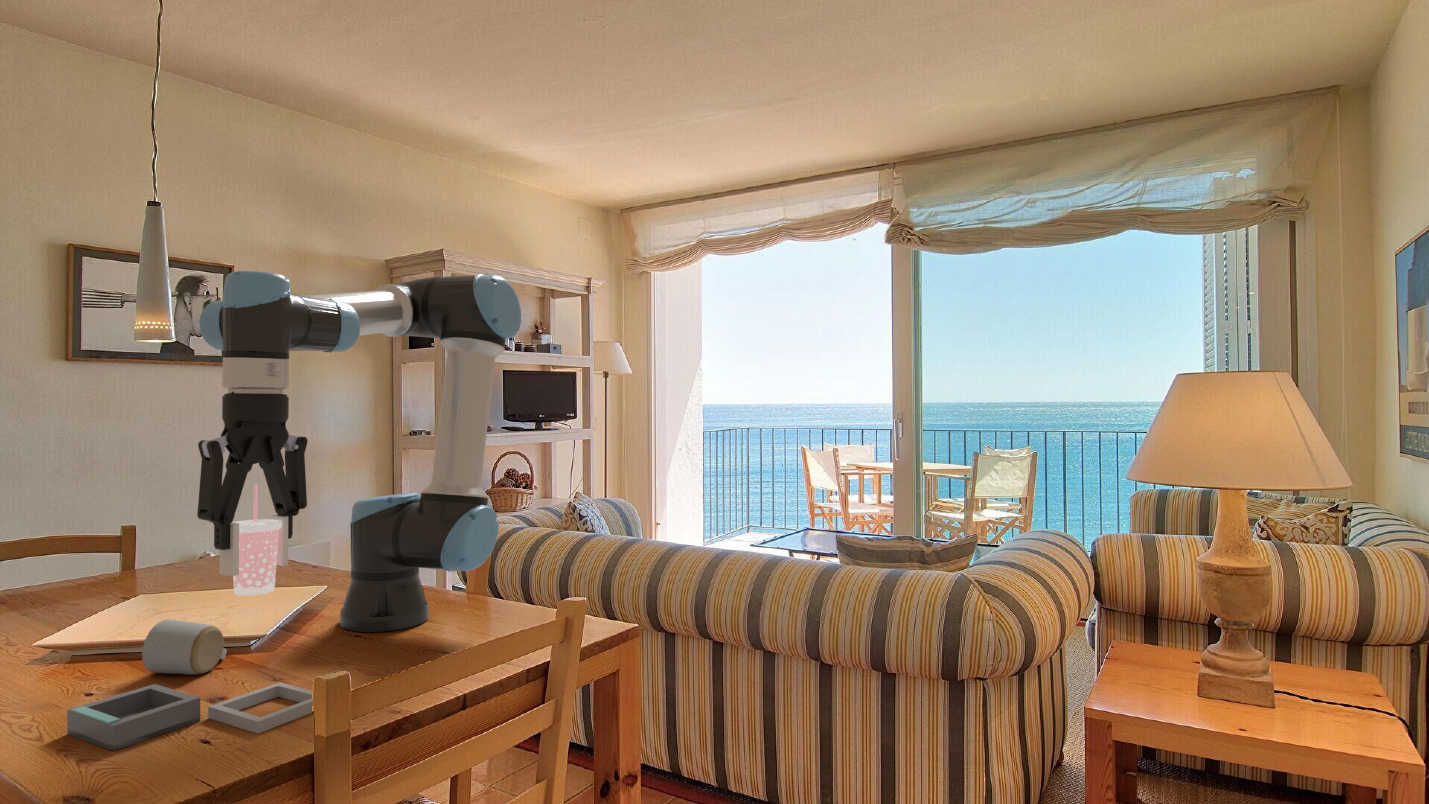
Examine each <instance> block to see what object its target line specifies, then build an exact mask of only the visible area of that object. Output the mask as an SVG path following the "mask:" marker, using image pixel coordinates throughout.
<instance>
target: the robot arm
mask: <svg viewBox="0 0 1429 804" xmlns="http://www.w3.org/2000/svg"><path fill="white" fill-rule="evenodd" d="M222 295H223V296H222V300H215V301H212V302H210V303H209V304H207V305H206V306H204V308H203V310H202V312H201V314H200V316H199V320H198V321H199V322H198V323H199V330H200V335H201V337H202V338H203V340H204V341H205V343H207V345H209V347H210V346H211V347H212V348H213V349H216V350H220V351H222V373H221V374H222V375H221V376H222V377H221V379H222V383H221V387H222V388H223V389H226V390H227V393H224V394H223V396H222V397H221V399H222V400H221V403H222V405H221V406H222V407H221V409H222V410H221V412H222V413H221V414H222V415H221V418H222V421H223V425H224V427H223V430H222V432H221V434H220V436H218V437H216V438H213V439H209V440H207V439H202V440H199V442H198V444H197V447H198V451H199V455H200V457H201V467H200V475H199V476H200V477H199V489H198V492H199V493H198V502H197V518H198V519H199V520H203V521H207V522H209V523H212V524H213V529H214V530H213V547H214V548H215V550H219V567H218V568H219V573H218V574H220V575H224V576H230V577H233V576H236V575H239V523H232V522H234V519H235V516H236V512H237V508H238V505H239V502H240V500H241V495H242V492H243V489H244V487H245V486H244V485H245V482H246V479H247V476H248V473H249V472H251V471H252V468H253V465H256V464H258V466H259V467H260V469H262V471H263V475H264V477H265V481H266V484H267V485H266V486H267V488H268V491H269V495H270V497H271V498H270V499H271V501H272V504H273V508H274V511H275V513H276V514H274V515H272V514H271V515H269V519H274V520H281V521H282V524H281V527H282V528H280V529H279V541H278V553H277V566H280V567H286V566H289V539H292V537H293V534H294V533H293V530H294V529H293V525H294V521H293V519H294V517H296V516H298V515H299V513H300V510H304V509H306V508H307V506H308V498H307V497H308V494H307V493H308V492H307V477H306V458H305V454H306V448H307V446H308V438H307V437H306V436H297V435H292V434H290V433H289V431H288V429H287V426H286V423H287V421H288V420H289V416H290V415H289V413H290V412H289V406H290V405H289V403H290V401H289V399H290V397H289V396H288V394H286V393H285V394H284V390H287V389H288V388H289V387H290V386H289V383H290V382H289V381H290V380H289V377H290V374H289V373H290V371H289V368H290V367H289V366H290V364H289V363H290V352H293V351H295V352H298V351H299V352H301V351H302V352H303V351H306V352H309V351H312V352H313V351H315V352H316V351H317V352H324V353H335V352H338V353H339V352H346V351H347V350H349V349H351V348H352V347H353V346H354V345H355V343H356V342H357V341H358V338H359V337H360V336H361V337H362V336H368V335H370V336H371V335H375V334H382V335H384V336H386V337H388V338H389V337H390V338H391V337H393V338H395V337H419V338H421V337H422V338H431V339H432V338H433V339H439V344H440V345H441V347H442V348H443V349H444V351H445V352H446V359H445V367H444V377H443V383H442V384H443V385H442V392H441V393H442V394H441V399H440V407H439V408H440V410H439V417H438V423H437V424H438V425H437V434H436V441H435V442H436V443H435V449H434V456H433V466H432V474H431V480H430V481H431V482H430V484H428V486H426V487H425V488H423V489H422V490H421V491H420V494H419V493H418V492H407V493H398V494H390V495H389V494H388V495H380V496H374V497H368V498H367V497H366V498H362V499H358V500H357V501H356V502H355V503H354V504H353V505H352V509H351V519H350V520H351V521H350V523H349V525H350V584H349V586H348V588H347V591H346V595H345V599H344V601H343V606H342V607H341V609H340V613H339V626H340V627H341V628H342V629H345V630H348V631H353V632H358V633H359V632H360V633H361V632H362V633H379V632H391V631H396V630H397V631H398V630H403V629H407V628H412V627H415V626H417V625H420V624H423V623H424V622H426V621H427V620H428V619H429V616H430V615H429V612H430V611H429V607H430V606H429V602H428V601H427V600H426V595H425V592H424V588H423V585H422V582H421V579H420V568H421V569H430V570H441V571H446V572H470V571H475V569H476V570H477V569H478V568H480V567H481V566H482V565H483V564H484V563H485V562H486V561H487V559H488V558H489V557H490V556H491V554H492V553H493V550H494V548H495V546H496V543H497V540H498V534H499V520H498V519H497V518H498V516H497V512H495V510H494V509H493V508H492V507H490V506H488V503H489V495H488V494H487V493H486V492H485V491H484V489H483V488H482V477H483V471H484V470H483V469H484V461H485V450H486V444H487V443H486V442H487V435H488V434H487V432H488V425H489V424H488V423H489V416H490V408H491V399H492V392H493V391H492V389H493V381H494V372H495V364H496V363H495V362H496V358H497V357H499V356H500V355H502V354H503V353H504V352H505V348H506V340H509V339H511V338H513V337H515V336H516V335H517V333H518V332H519V330H520V328H521V323H522V310H521V303H520V301H519V298H518V296H517V293H516V291H515V289H514V288H513V286H512V285H511V283H510V282H509V281H508V280H507V279H506V278H504V277H503V276H500V275H487V274H483V273H480V274H476V275H454V276H453V275H452V276H451V275H450V276H429V277H423V278H418V279H414V280H409V281H404V282H397V283H387V284H382V285H379V286H378V287H376V288H375V289H374V290H367V291H366V290H365V291H351V292H349V291H348V292H347V291H346V292H335V293H320V294H319V293H318V294H304V295H302V294H301V295H300V294H295V293H292V289H291V285H290V279H289V278H288V277H287V276H286V275H283V274H280V273H275V272H268V271H258V270H237V271H232V272H230V273H228V274H227V275H226V276H225V278H224V285H223V292H222ZM282 449H285V451H284V457H283V454H282ZM226 450H227V452H228V453H229V454H228V457H227V460H226V462H225V468H226V471H225V475H224V477H223V471H224V456H223V455H224V454H225V453H226ZM284 467H285V468H284Z"/></svg>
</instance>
